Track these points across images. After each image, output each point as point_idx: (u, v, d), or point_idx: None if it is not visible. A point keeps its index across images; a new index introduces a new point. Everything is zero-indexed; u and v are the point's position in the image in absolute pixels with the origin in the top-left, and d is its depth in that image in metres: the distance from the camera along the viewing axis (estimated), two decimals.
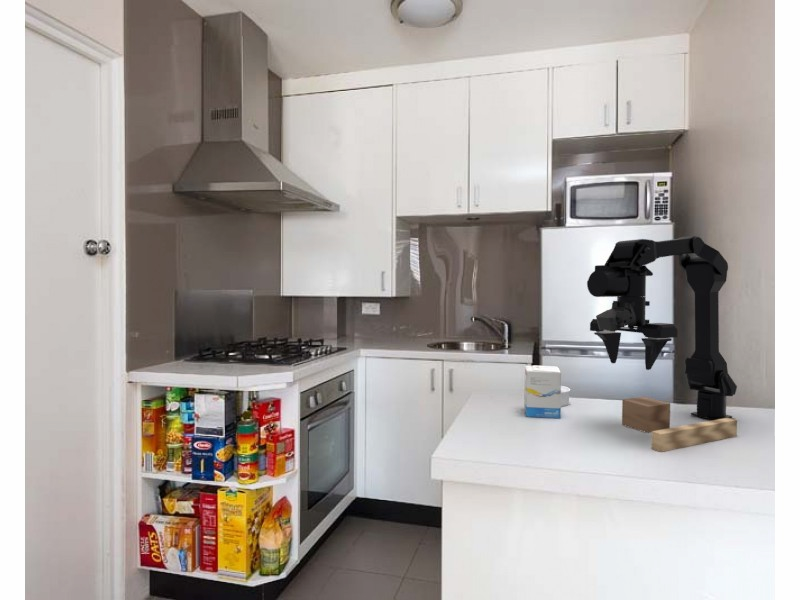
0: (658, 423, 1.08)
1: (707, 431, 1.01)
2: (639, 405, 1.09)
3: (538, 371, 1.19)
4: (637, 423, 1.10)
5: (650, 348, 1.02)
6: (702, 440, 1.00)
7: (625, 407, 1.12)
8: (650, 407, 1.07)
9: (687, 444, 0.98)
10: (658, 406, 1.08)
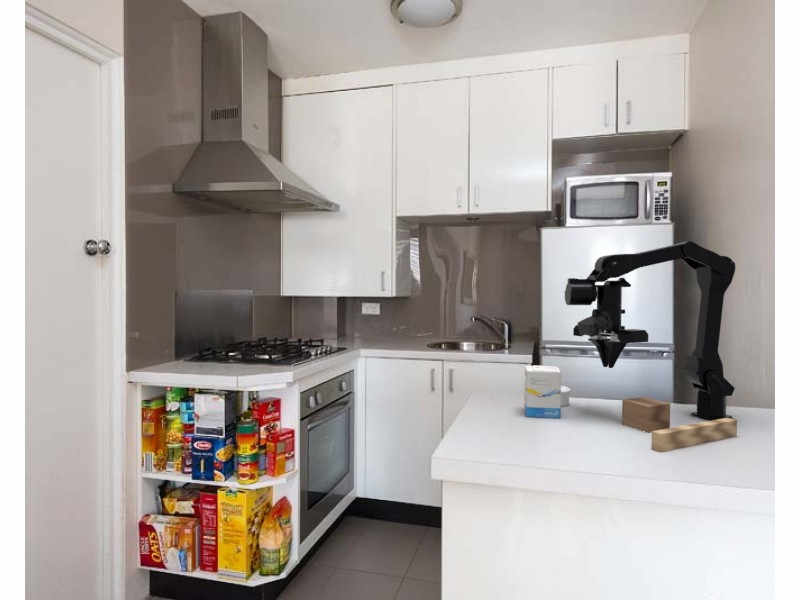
0: (658, 423, 1.08)
1: (707, 431, 1.01)
2: (639, 405, 1.09)
3: (538, 371, 1.19)
4: (637, 423, 1.10)
5: (612, 349, 1.18)
6: (702, 440, 1.00)
7: (625, 407, 1.12)
8: (650, 407, 1.07)
9: (687, 444, 0.98)
10: (658, 406, 1.08)
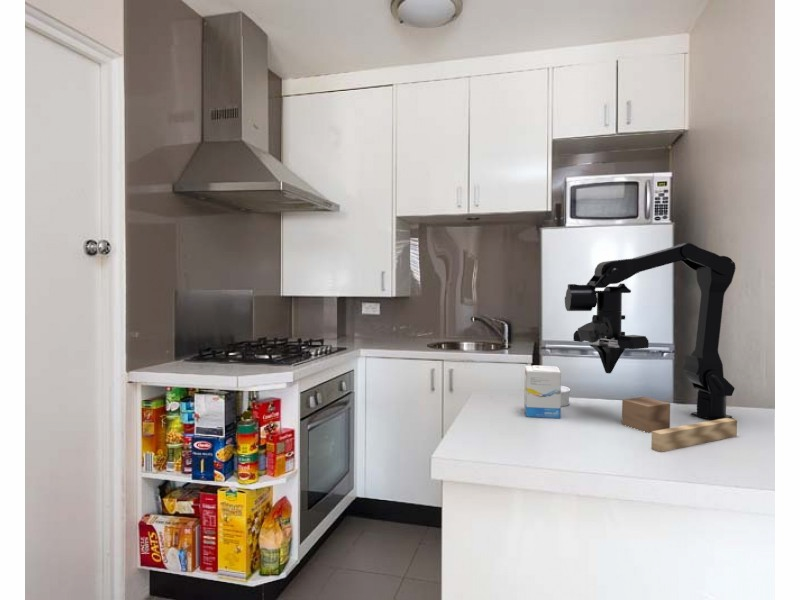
0: (658, 423, 1.08)
1: (707, 431, 1.01)
2: (639, 405, 1.09)
3: (538, 371, 1.19)
4: (637, 423, 1.10)
5: (610, 355, 1.19)
6: (702, 440, 1.00)
7: (625, 407, 1.12)
8: (650, 407, 1.07)
9: (687, 444, 0.98)
10: (658, 406, 1.08)
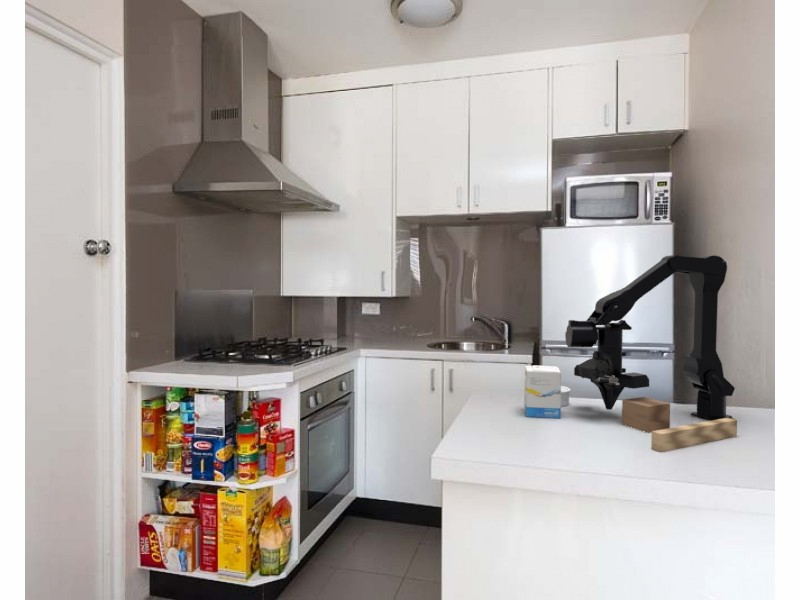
0: (658, 423, 1.08)
1: (707, 431, 1.01)
2: (639, 405, 1.09)
3: (538, 371, 1.19)
4: (637, 423, 1.10)
5: (610, 392, 1.19)
6: (702, 440, 1.00)
7: (625, 407, 1.13)
8: (650, 407, 1.07)
9: (687, 444, 0.98)
10: (658, 406, 1.08)
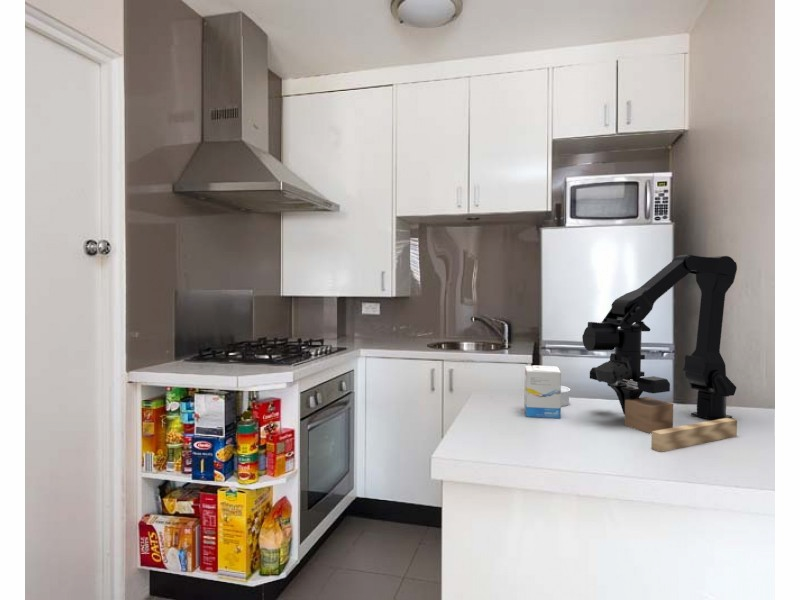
0: (661, 423, 1.08)
1: (707, 431, 1.01)
2: (642, 405, 1.08)
3: (538, 371, 1.19)
4: (640, 423, 1.09)
5: (628, 396, 1.14)
6: (702, 440, 1.00)
7: (628, 407, 1.12)
8: (653, 407, 1.06)
9: (687, 444, 0.98)
10: (661, 406, 1.07)
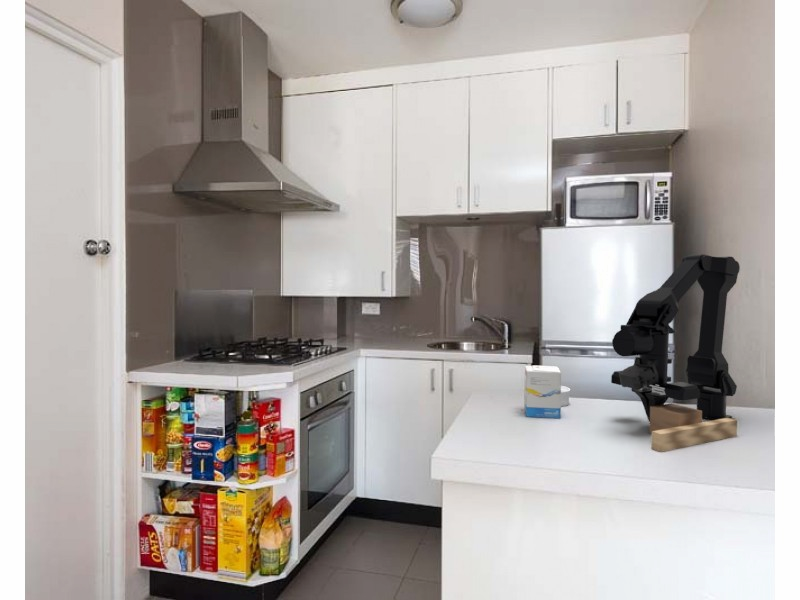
0: None
1: (707, 431, 1.01)
2: (669, 412, 1.02)
3: (538, 371, 1.19)
4: None
5: (653, 402, 1.08)
6: (702, 440, 1.00)
7: (653, 414, 1.06)
8: (681, 415, 1.00)
9: (687, 444, 0.98)
10: (690, 414, 1.01)
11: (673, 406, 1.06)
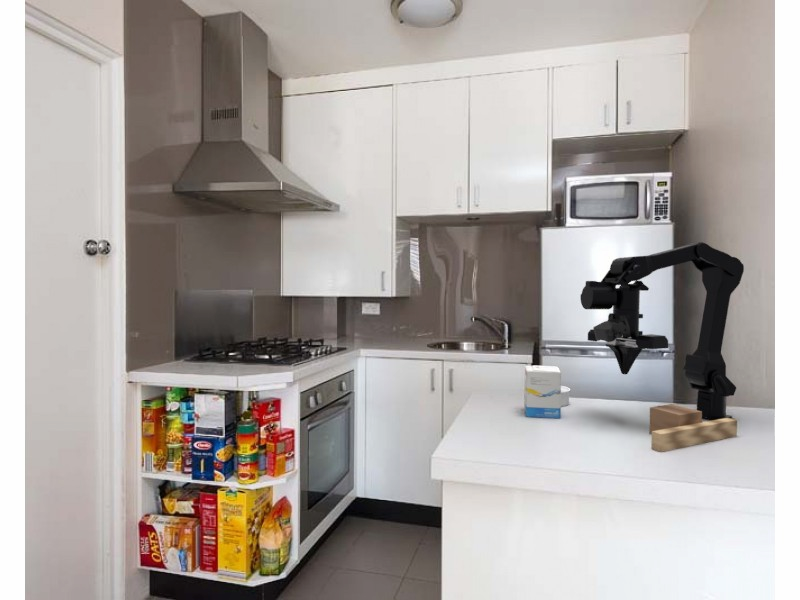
0: None
1: (707, 431, 1.01)
2: (669, 413, 1.02)
3: (538, 371, 1.19)
4: None
5: (627, 355, 1.14)
6: (702, 440, 1.00)
7: (653, 415, 1.06)
8: (681, 415, 1.00)
9: (687, 444, 0.98)
10: (689, 414, 1.01)
11: (673, 407, 1.06)
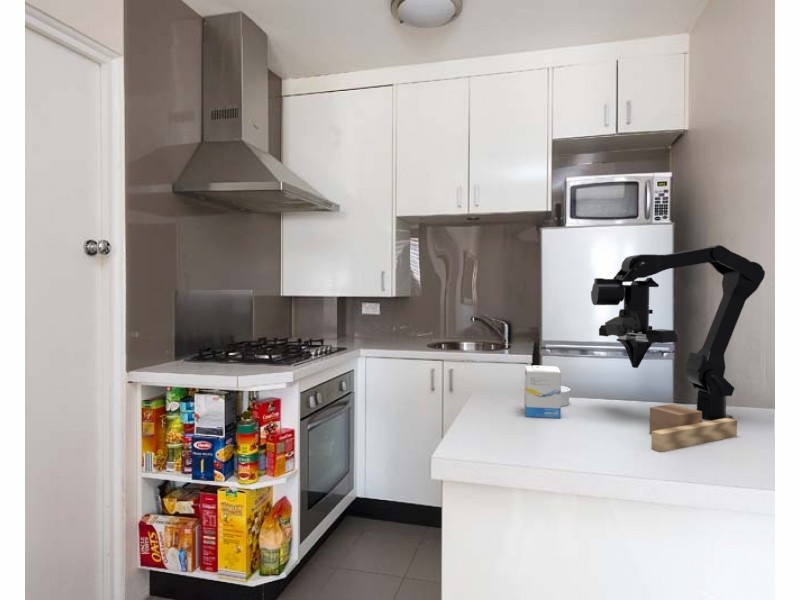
0: None
1: (707, 431, 1.01)
2: (669, 413, 1.02)
3: (538, 371, 1.19)
4: None
5: (637, 349, 1.19)
6: (702, 440, 1.00)
7: (653, 415, 1.06)
8: (681, 415, 1.00)
9: (687, 444, 0.98)
10: (689, 414, 1.01)
11: (673, 407, 1.06)
